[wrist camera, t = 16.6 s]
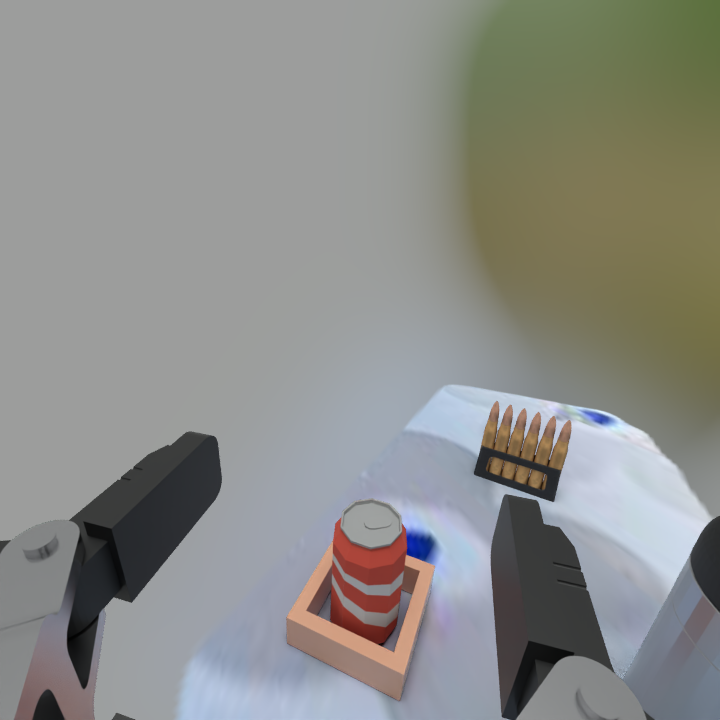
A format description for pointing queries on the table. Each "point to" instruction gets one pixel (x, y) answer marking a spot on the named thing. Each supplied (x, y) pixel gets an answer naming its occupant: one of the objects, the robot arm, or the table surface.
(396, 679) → the terracotta collar
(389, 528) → the beverage can
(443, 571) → the table surface
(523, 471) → the ammunition clip
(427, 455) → the table surface
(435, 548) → the table surface
